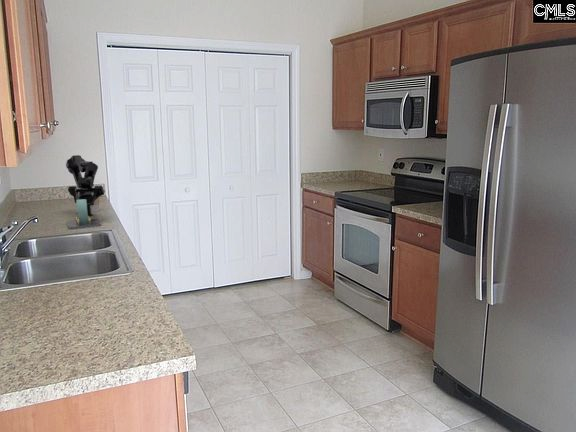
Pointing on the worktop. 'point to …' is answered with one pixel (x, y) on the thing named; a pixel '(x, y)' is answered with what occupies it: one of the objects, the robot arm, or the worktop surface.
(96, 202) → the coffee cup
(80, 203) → the post
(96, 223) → the metal base plate
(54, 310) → the worktop surface
